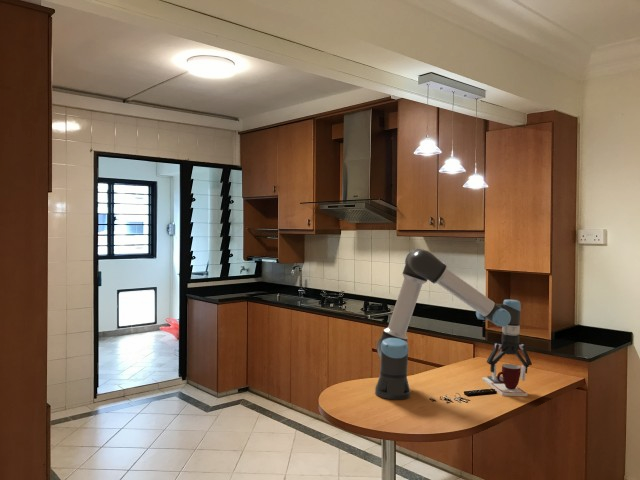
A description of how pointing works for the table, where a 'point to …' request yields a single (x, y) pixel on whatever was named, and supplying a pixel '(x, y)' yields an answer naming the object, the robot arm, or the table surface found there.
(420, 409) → the table surface
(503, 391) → the board
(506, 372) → the mug
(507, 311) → the robot arm
